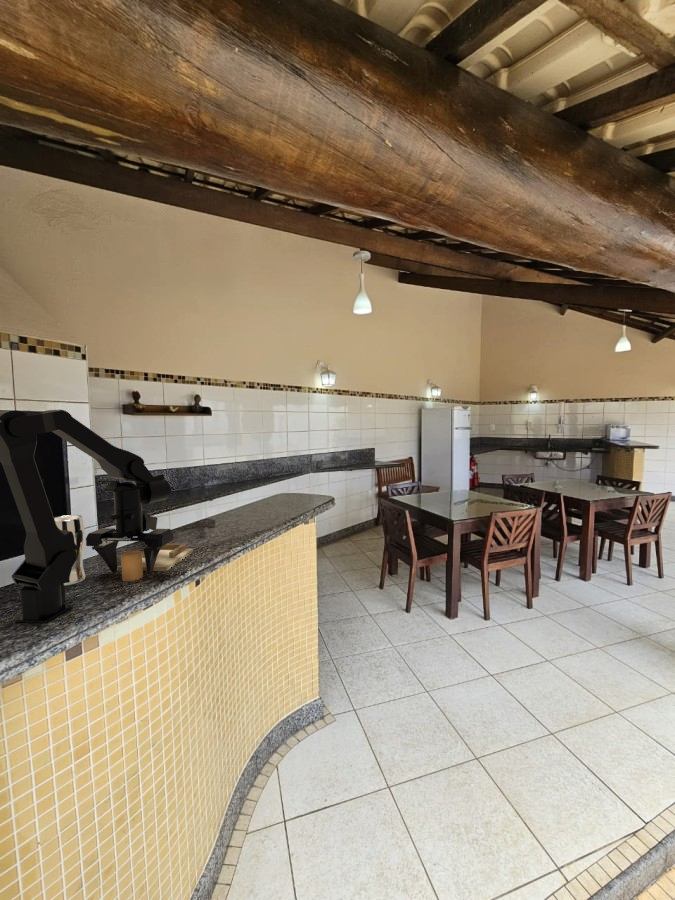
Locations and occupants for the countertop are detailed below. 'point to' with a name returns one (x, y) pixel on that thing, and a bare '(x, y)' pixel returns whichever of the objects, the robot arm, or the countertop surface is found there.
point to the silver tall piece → (77, 528)
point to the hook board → (168, 556)
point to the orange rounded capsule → (131, 565)
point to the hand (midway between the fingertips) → (132, 572)
